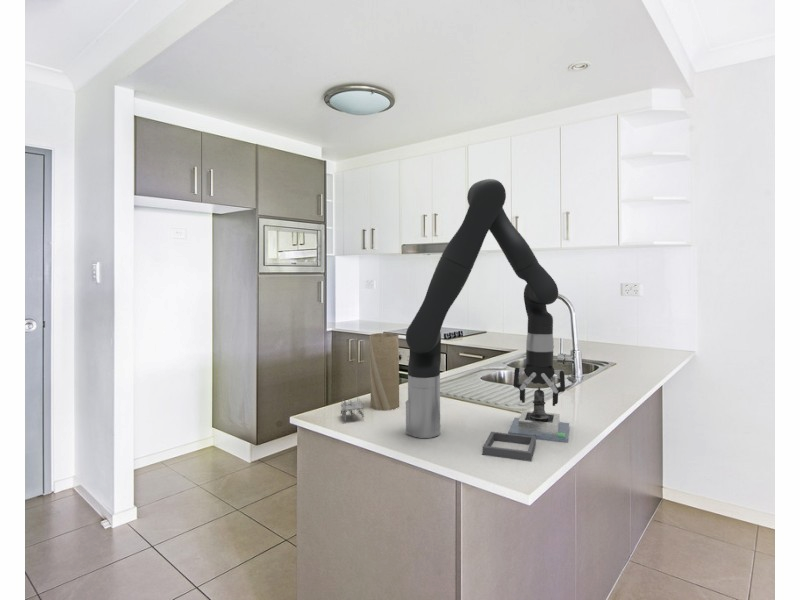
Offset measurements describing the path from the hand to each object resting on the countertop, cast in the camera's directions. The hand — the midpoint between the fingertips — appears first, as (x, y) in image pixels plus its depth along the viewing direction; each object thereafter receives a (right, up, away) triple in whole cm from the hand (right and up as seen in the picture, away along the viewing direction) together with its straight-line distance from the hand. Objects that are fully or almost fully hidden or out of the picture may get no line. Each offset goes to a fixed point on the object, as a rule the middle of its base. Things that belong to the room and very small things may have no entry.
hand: (538, 403), depth 136 cm
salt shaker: (0, -7, 0) cm, 7 cm away
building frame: (-56, -8, +14) cm, 58 cm away
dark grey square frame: (-12, -9, -13) cm, 20 cm away
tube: (-46, -7, +27) cm, 53 cm away
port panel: (0, -8, 0) cm, 8 cm away
